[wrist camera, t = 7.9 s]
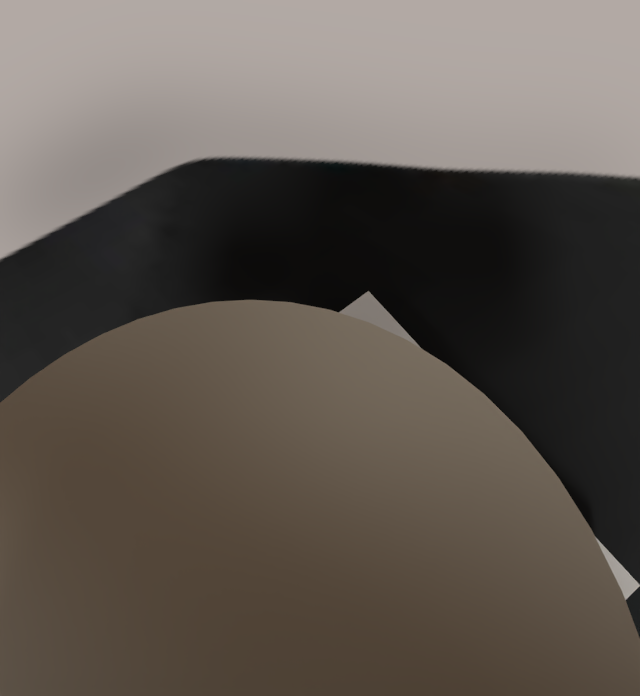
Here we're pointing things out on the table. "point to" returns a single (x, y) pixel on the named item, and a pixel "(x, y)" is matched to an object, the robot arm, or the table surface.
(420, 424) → the bobbin
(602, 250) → the table surface
